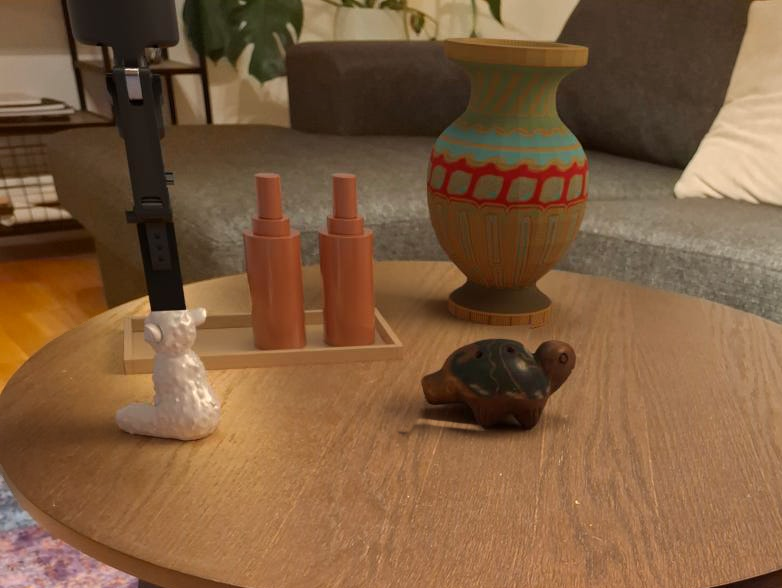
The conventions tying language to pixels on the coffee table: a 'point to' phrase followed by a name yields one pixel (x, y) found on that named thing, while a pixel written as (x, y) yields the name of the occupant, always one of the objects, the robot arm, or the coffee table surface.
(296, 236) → the near bottle
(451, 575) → the coffee table surface
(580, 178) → the vase
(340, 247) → the far bottle
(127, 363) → the tray
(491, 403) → the decorative turtle
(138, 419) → the sitting furry creature
